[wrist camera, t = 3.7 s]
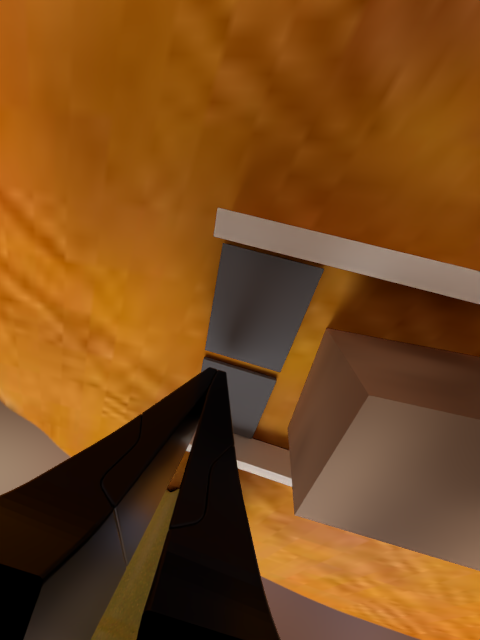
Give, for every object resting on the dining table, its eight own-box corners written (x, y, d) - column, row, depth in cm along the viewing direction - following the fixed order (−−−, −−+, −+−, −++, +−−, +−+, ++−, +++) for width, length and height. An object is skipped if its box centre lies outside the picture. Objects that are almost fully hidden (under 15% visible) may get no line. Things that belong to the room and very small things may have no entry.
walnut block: (498, 358, 7) (726, 474, 4) (407, 454, 10) (482, 571, 7) (325, 325, 8) (368, 395, 4) (287, 424, 11) (294, 515, 7)
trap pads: (322, 268, 7) (324, 269, 7) (251, 436, 11) (251, 439, 11) (224, 243, 7) (223, 243, 7) (194, 417, 12) (193, 420, 12)
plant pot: (146, 507, 20) (62, 684, 12) (145, 463, 16) (15, 687, 8) (226, 536, 19) (193, 743, 11) (246, 498, 15) (216, 781, 7)
